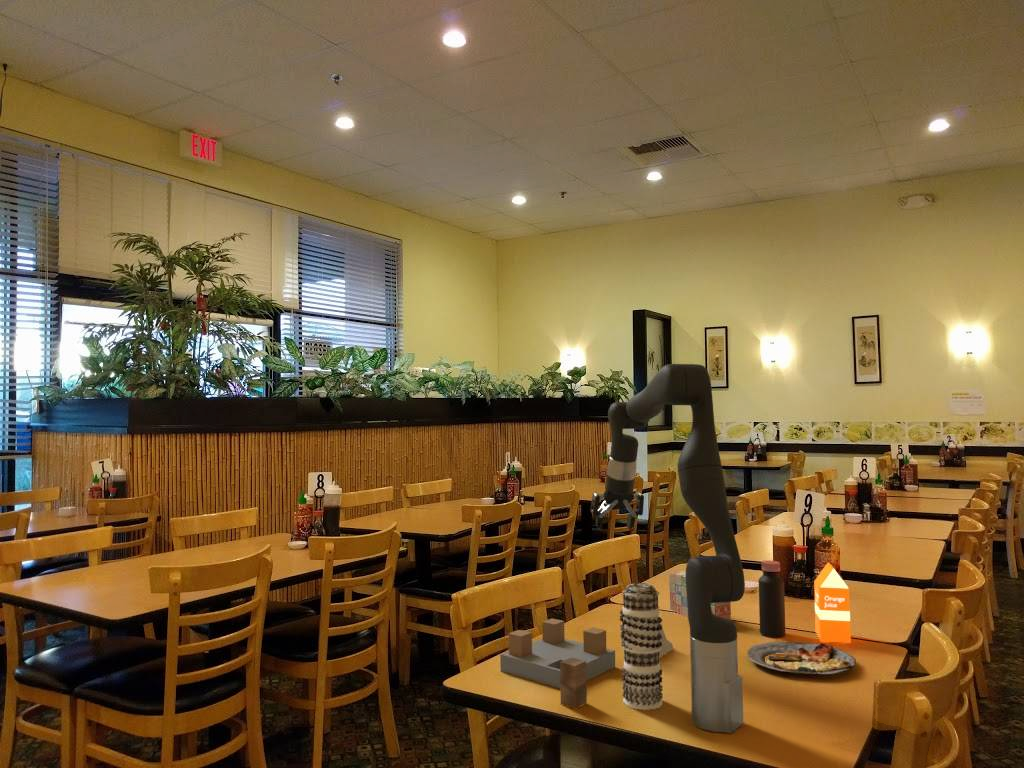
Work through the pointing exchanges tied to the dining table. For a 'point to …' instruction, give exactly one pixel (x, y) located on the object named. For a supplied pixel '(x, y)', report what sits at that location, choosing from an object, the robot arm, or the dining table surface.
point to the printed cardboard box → (680, 597)
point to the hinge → (663, 644)
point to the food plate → (802, 658)
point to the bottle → (771, 600)
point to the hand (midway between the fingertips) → (614, 528)
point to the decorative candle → (641, 647)
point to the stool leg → (573, 682)
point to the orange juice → (832, 607)
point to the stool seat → (555, 653)
